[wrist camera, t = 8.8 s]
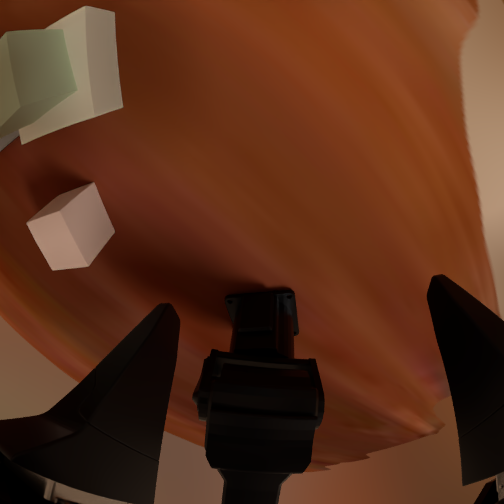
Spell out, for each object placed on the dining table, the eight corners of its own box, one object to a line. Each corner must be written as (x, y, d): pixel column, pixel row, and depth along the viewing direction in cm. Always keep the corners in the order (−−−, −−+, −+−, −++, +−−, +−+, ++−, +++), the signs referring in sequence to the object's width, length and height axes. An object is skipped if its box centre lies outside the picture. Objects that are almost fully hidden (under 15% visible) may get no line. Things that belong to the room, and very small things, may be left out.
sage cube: (62, 29, 9) (6, 31, 5) (77, 90, 12) (20, 106, 8) (19, 68, 10) (-32, 82, 6) (33, 123, 13) (-17, 147, 9)
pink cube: (115, 231, 22) (88, 266, 18) (79, 238, 23) (52, 270, 19) (94, 181, 19) (59, 210, 15) (59, 194, 20) (26, 222, 16)
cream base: (125, 106, 16) (94, 116, 13) (52, 130, 17) (21, 145, 14) (116, 12, 11) (85, 5, 8) (42, 49, 12) (10, 54, 9)
